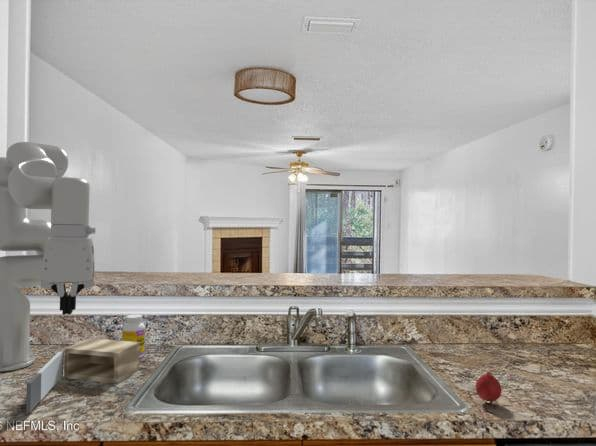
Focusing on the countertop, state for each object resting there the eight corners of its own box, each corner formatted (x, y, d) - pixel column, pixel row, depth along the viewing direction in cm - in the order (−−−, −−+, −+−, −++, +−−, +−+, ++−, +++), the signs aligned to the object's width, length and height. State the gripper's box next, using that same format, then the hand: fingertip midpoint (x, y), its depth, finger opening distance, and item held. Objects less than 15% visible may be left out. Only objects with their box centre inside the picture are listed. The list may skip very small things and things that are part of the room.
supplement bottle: (136, 361, 126) (137, 319, 126) (117, 359, 127) (118, 317, 127) (148, 354, 133) (149, 314, 133) (130, 352, 134) (130, 313, 134)
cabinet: (63, 377, 112) (64, 348, 112) (88, 365, 122) (89, 338, 121) (117, 383, 109) (118, 353, 109) (138, 370, 119) (139, 342, 119)
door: (58, 374, 111) (59, 350, 111) (63, 374, 112) (64, 350, 112) (25, 413, 89) (25, 383, 89) (31, 412, 90) (32, 382, 90)
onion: (471, 397, 105) (472, 366, 105) (494, 398, 105) (495, 367, 105) (480, 408, 100) (481, 375, 100) (505, 409, 99) (506, 375, 99)
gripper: (107, 232, 100) (105, 308, 100) (35, 231, 95) (33, 311, 95) (104, 233, 93) (102, 315, 93) (26, 232, 88) (24, 319, 88)
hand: (67, 313), depth 94 cm, fingers closed
